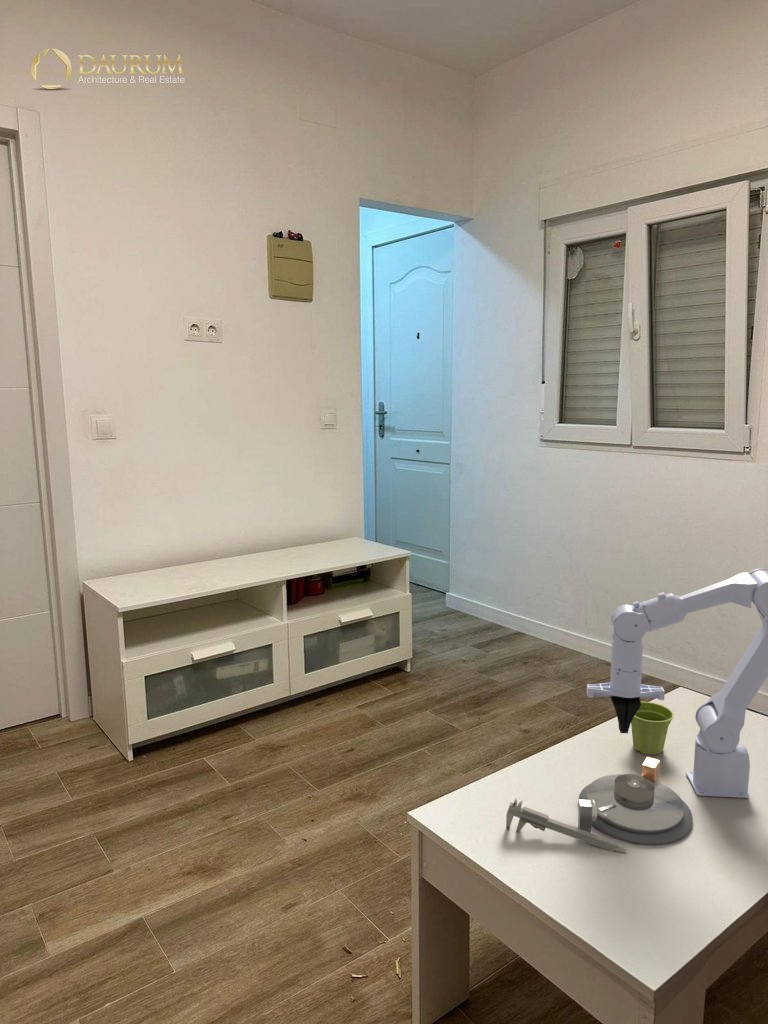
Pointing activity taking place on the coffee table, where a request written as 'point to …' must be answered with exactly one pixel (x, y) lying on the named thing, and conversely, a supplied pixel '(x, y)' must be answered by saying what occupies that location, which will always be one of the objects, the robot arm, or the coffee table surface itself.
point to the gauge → (587, 814)
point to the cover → (634, 792)
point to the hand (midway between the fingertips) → (623, 730)
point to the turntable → (649, 821)
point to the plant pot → (650, 727)
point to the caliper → (556, 827)
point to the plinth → (644, 838)
